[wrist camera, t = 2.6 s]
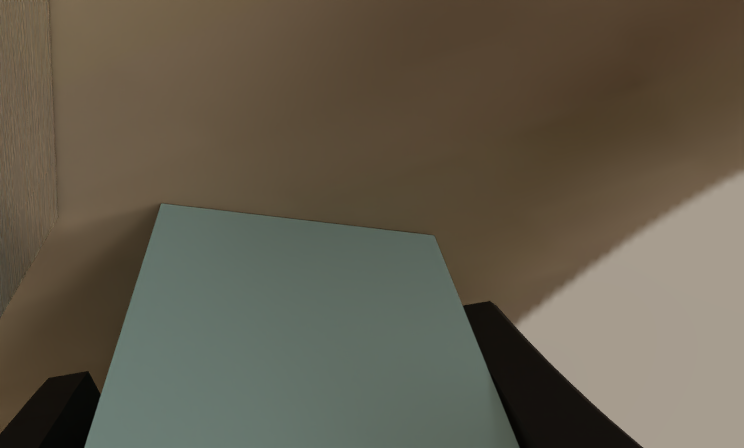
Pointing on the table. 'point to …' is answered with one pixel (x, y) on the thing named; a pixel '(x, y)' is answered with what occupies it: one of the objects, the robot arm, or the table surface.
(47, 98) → the silver box with frame
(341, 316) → the mint cube
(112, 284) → the table surface
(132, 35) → the table surface
